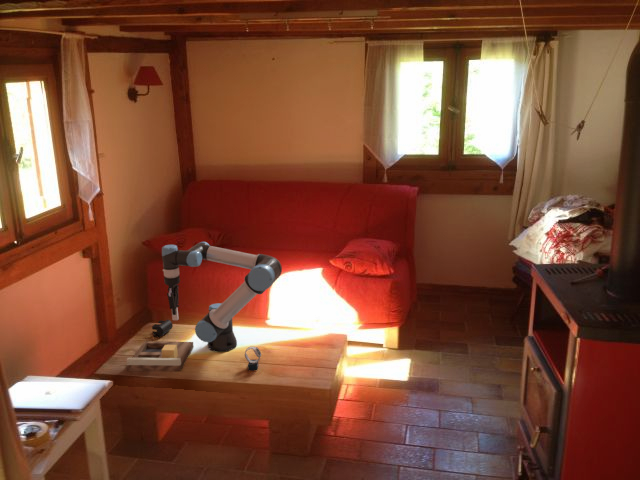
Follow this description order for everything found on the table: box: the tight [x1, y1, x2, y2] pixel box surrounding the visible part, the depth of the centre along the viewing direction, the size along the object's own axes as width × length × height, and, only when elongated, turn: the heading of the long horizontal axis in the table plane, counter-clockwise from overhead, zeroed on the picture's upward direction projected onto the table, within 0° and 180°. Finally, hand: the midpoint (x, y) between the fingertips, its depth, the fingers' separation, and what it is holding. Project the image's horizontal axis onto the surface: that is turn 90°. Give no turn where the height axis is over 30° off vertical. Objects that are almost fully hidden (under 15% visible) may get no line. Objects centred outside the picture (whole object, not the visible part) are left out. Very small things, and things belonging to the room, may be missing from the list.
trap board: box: [126, 340, 194, 372], centre depth 298 cm, size 26×26×6 cm
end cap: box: [151, 319, 173, 338], centre depth 327 cm, size 10×7×7 cm
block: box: [162, 345, 178, 358], centre depth 292 cm, size 6×6×6 cm
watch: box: [244, 346, 262, 372], centre depth 287 cm, size 6×8×11 cm
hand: (175, 319), depth 300 cm, fingers closed
